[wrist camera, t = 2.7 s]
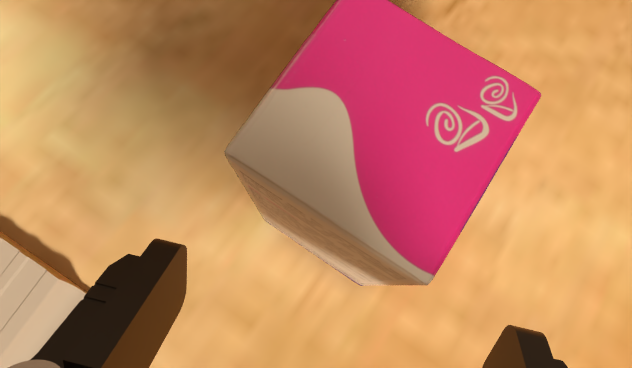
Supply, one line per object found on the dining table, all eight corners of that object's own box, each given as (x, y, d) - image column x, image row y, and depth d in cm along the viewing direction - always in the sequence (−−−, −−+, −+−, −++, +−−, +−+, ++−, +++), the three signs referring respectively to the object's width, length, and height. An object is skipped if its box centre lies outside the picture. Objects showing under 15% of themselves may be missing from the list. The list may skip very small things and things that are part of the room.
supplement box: (366, 290, 21) (426, 296, 10) (261, 219, 21) (204, 147, 10) (430, 188, 22) (552, 87, 11) (328, 124, 23) (343, -35, 11)
